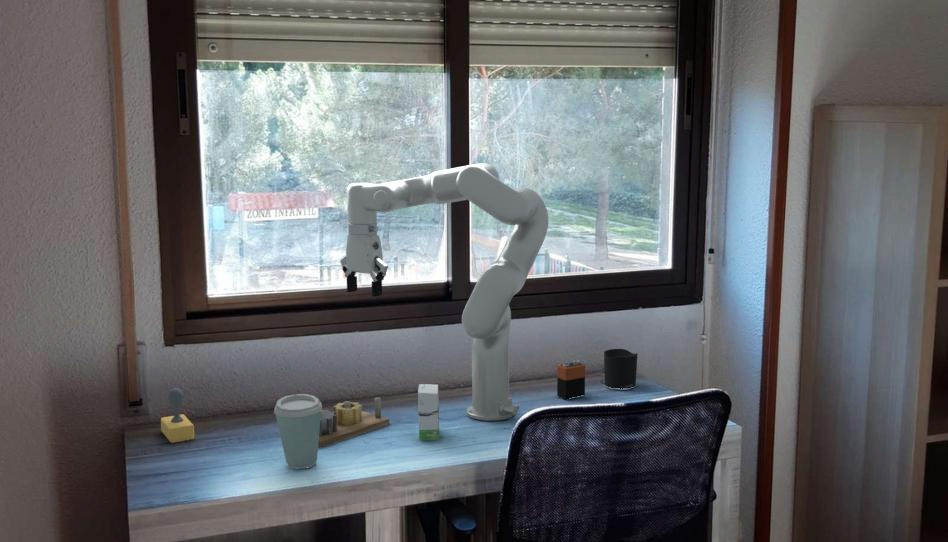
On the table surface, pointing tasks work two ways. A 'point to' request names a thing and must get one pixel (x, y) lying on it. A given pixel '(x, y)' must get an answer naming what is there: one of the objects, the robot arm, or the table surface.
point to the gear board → (336, 433)
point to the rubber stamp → (177, 420)
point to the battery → (570, 379)
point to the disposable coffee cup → (299, 428)
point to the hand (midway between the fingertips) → (364, 293)
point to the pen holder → (620, 368)
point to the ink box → (428, 412)
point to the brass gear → (348, 414)
